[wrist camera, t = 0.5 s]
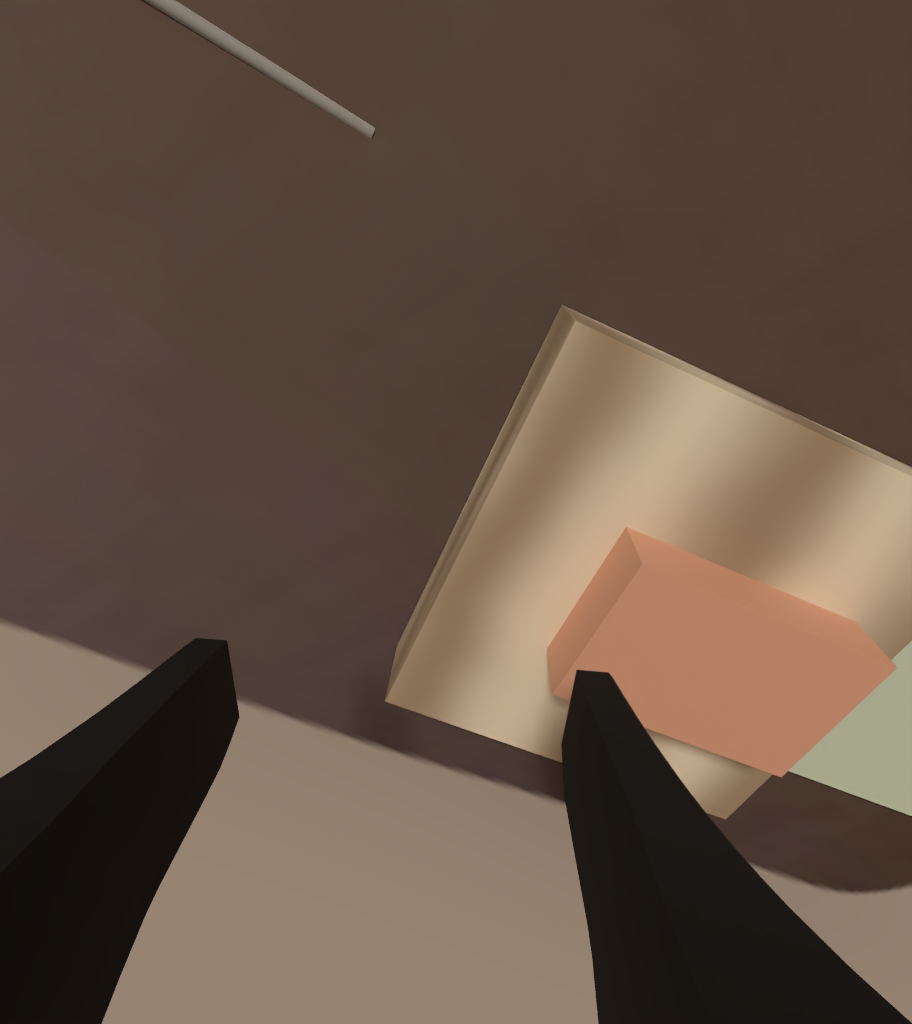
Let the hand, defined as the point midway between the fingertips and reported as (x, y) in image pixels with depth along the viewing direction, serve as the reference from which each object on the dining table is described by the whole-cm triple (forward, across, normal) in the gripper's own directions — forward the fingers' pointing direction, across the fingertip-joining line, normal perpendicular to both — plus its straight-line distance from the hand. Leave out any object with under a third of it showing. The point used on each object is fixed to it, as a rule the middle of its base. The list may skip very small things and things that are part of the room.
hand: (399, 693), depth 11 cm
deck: (+9, -8, +3) cm, 12 cm away
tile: (+6, -9, +3) cm, 11 cm away
